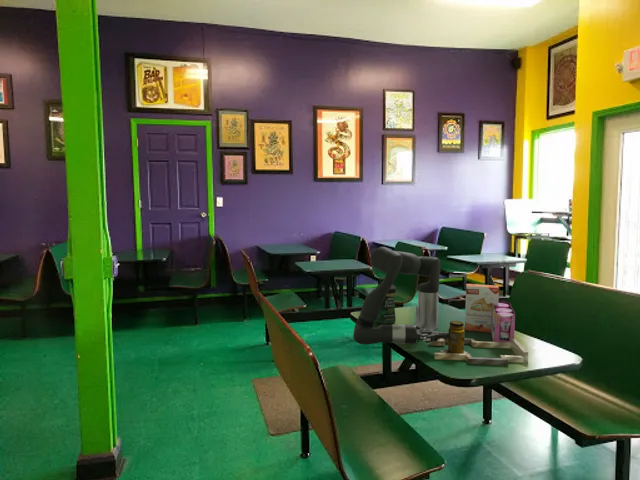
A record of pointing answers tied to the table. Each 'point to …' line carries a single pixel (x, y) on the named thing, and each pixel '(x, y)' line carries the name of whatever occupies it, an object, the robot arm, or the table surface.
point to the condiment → (456, 338)
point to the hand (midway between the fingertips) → (448, 335)
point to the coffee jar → (388, 308)
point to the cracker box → (480, 306)
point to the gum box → (502, 322)
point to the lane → (503, 360)
